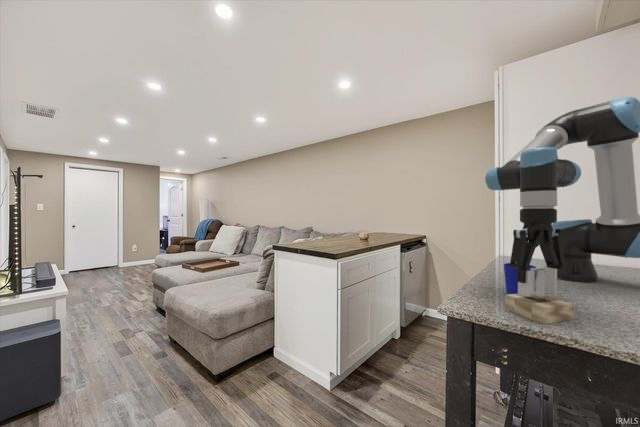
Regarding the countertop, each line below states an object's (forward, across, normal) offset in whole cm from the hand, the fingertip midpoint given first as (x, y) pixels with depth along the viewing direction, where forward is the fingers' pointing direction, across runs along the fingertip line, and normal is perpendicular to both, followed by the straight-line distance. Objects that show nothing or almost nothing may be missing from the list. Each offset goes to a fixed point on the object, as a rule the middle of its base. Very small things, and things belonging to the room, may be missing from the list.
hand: (537, 293), depth 69 cm
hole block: (+6, 0, 0) cm, 6 cm away
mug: (+6, -10, -11) cm, 16 cm away
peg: (+6, 0, 0) cm, 6 cm away
